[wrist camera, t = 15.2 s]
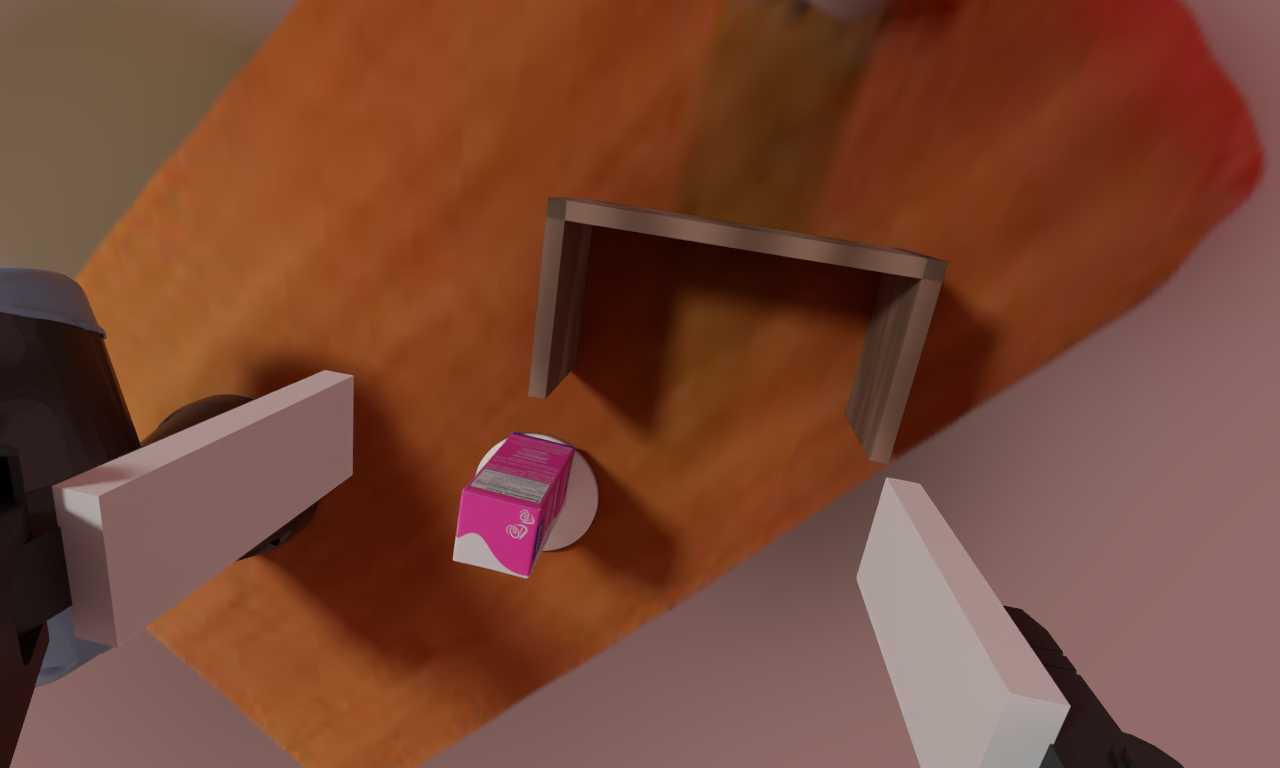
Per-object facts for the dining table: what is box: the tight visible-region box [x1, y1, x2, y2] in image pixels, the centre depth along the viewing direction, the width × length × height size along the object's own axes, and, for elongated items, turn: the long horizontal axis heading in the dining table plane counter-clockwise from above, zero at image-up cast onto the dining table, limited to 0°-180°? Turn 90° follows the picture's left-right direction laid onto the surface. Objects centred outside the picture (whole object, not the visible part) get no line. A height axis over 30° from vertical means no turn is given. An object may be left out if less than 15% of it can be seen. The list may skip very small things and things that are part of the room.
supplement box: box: [453, 432, 575, 578], centre depth 48 cm, size 6×6×12 cm
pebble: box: [476, 433, 599, 551], centre depth 55 cm, size 11×11×1 cm
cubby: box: [528, 198, 948, 464], centre depth 44 cm, size 24×13×9 cm, turn 81°
